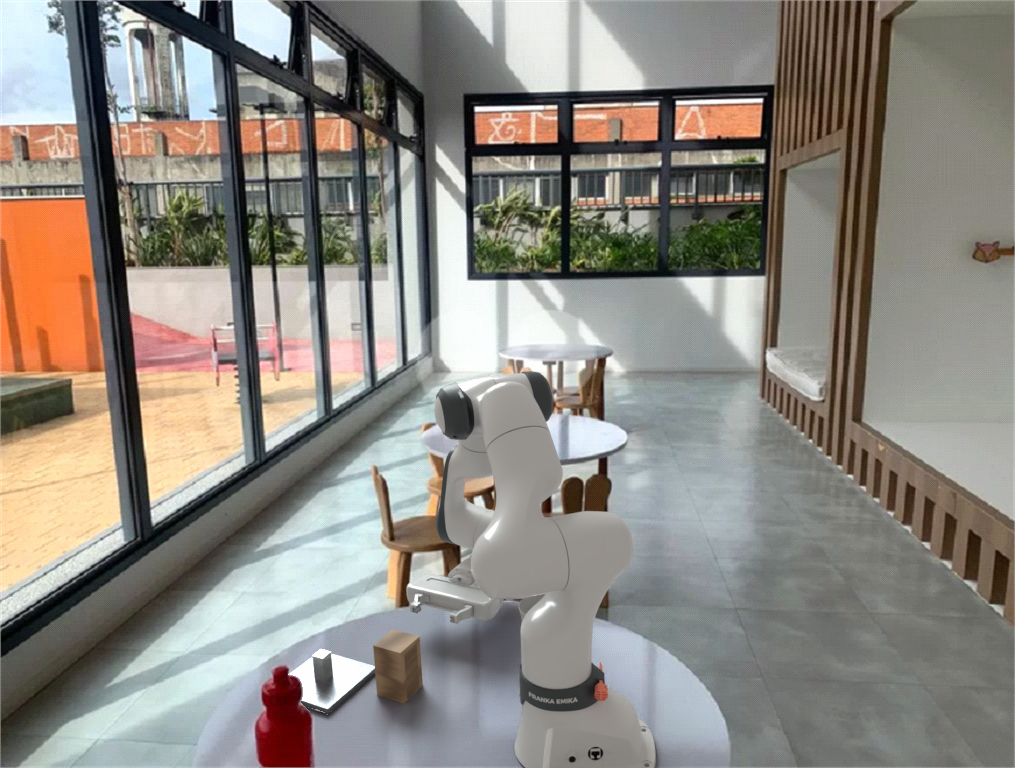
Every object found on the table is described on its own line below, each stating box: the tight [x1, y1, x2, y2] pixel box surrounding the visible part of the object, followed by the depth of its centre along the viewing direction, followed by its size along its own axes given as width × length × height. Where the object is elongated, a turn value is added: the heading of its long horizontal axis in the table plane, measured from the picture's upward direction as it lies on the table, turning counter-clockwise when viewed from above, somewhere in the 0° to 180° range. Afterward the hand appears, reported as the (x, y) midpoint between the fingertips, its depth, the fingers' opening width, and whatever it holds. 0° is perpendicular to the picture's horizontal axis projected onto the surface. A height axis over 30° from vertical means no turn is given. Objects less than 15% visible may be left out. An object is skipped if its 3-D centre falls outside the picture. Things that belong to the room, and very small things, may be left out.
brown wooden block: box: [372, 629, 424, 704], centre depth 131 cm, size 6×6×10 cm
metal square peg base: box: [289, 648, 376, 715], centre depth 134 cm, size 14×14×6 cm
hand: (432, 614), depth 141 cm, fingers open, 8 cm apart
